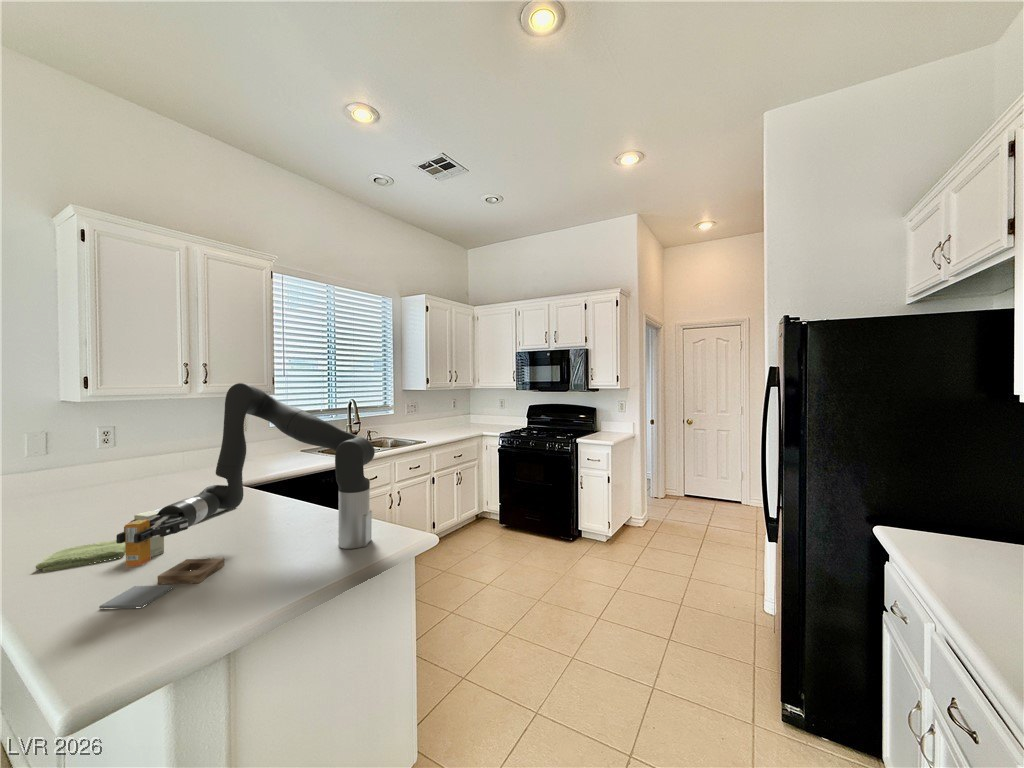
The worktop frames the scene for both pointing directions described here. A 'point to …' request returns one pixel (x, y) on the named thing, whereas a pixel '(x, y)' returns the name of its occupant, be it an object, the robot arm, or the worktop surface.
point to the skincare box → (156, 542)
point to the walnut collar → (184, 574)
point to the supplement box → (136, 544)
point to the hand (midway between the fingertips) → (127, 539)
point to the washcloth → (82, 555)
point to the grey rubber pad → (136, 596)
